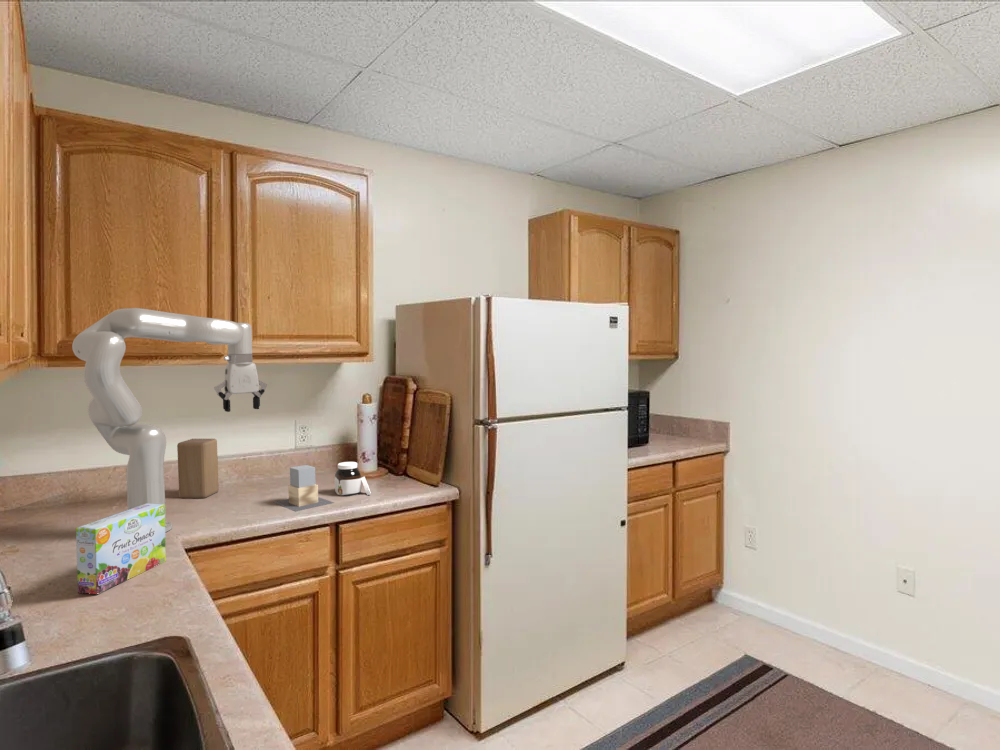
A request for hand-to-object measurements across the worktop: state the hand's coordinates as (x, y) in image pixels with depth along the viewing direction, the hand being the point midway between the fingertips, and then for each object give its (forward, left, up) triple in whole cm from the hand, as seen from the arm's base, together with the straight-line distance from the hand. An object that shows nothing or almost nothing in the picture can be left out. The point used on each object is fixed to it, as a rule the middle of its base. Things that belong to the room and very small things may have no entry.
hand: (242, 410), depth 204 cm
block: (-6, +25, -32) cm, 41 cm away
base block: (+13, -16, -31) cm, 37 cm away
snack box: (-46, -42, -33) cm, 71 cm away
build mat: (+13, -16, -32) cm, 38 cm away
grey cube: (+13, -16, -25) cm, 33 cm away
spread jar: (+32, -17, -33) cm, 49 cm away
